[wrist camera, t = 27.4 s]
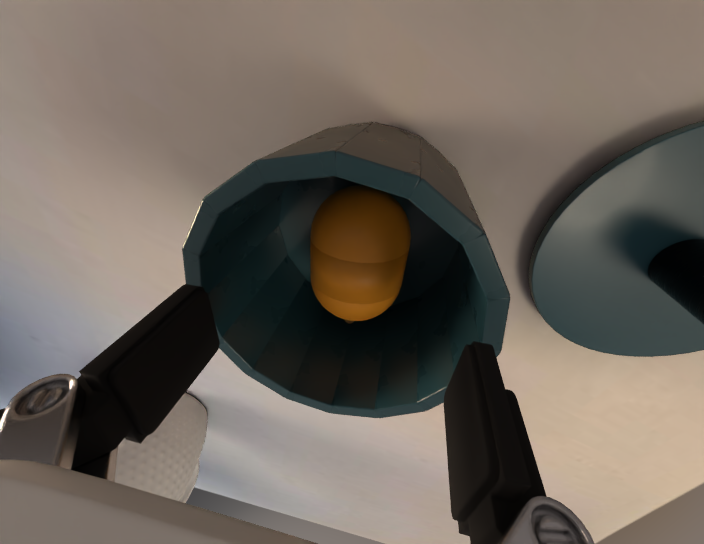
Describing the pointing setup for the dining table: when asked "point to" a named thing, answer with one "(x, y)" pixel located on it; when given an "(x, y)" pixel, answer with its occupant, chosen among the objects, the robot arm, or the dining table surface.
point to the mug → (166, 453)
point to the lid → (629, 253)
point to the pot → (295, 282)
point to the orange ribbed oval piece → (358, 252)
